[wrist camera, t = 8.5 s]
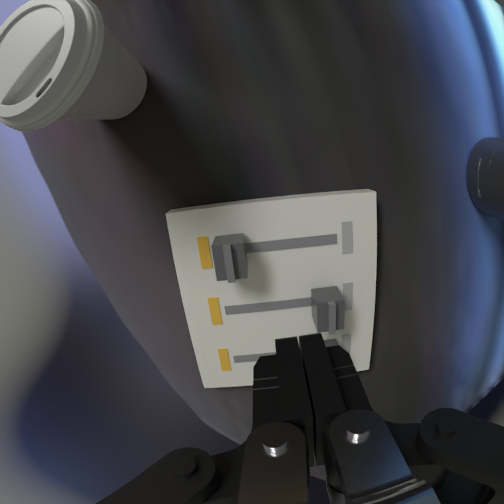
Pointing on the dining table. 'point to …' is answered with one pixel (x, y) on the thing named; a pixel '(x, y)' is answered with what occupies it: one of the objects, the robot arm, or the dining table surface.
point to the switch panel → (275, 276)
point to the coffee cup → (64, 67)
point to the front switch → (230, 257)
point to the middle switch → (328, 309)
